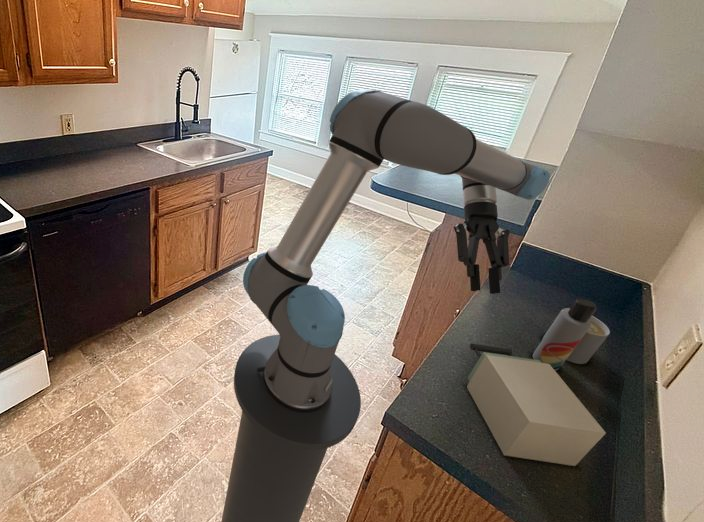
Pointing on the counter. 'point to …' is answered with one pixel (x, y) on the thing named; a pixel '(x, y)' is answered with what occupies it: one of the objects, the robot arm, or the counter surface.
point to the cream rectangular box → (533, 411)
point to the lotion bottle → (565, 334)
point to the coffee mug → (588, 341)
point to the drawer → (492, 350)
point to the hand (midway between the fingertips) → (485, 291)
